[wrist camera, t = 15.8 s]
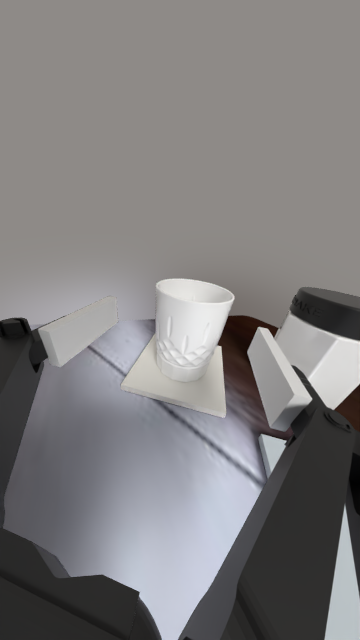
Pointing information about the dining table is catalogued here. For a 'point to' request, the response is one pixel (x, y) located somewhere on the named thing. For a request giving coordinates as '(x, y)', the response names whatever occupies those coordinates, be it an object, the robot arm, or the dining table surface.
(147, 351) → the tile shorter
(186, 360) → the white cup
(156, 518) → the dining table surface
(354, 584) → the light grey square tile
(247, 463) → the dining table surface
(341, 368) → the jar
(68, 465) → the dining table surface
